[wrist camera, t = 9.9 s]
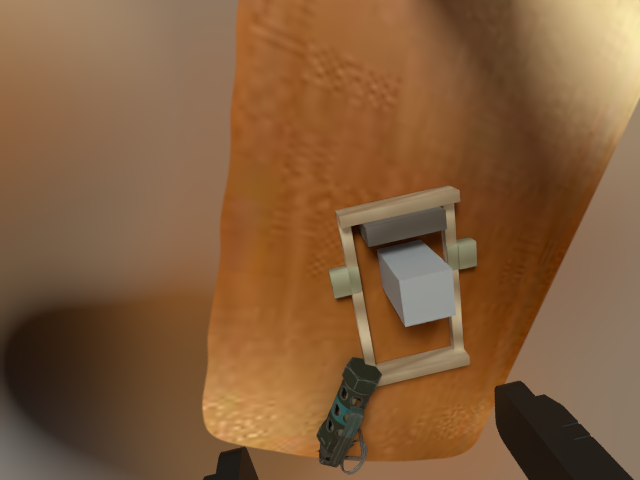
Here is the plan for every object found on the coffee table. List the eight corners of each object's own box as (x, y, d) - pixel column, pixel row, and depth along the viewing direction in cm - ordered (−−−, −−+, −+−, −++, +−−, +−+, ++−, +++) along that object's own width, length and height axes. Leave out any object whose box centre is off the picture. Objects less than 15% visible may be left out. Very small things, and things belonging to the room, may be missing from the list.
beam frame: (316, 214, 38) (320, 226, 34) (466, 181, 38) (486, 188, 35) (351, 377, 46) (357, 401, 42) (475, 347, 46) (492, 368, 42)
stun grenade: (344, 351, 45) (309, 435, 49) (349, 387, 39) (309, 479, 43) (390, 364, 46) (352, 446, 50) (402, 401, 40) (358, 490, 44)
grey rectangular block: (376, 249, 40) (399, 281, 33) (420, 239, 40) (452, 268, 33) (382, 288, 42) (405, 327, 34) (424, 278, 42) (455, 315, 34)
